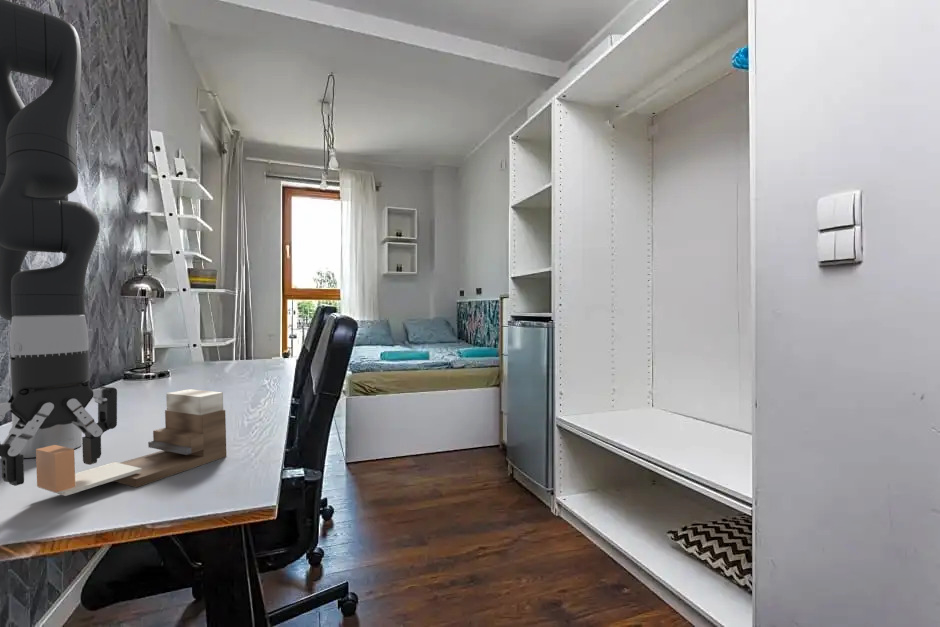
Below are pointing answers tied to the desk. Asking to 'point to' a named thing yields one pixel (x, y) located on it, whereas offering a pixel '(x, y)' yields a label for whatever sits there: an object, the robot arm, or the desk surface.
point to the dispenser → (183, 437)
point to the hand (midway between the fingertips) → (55, 472)
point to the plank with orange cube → (73, 471)
